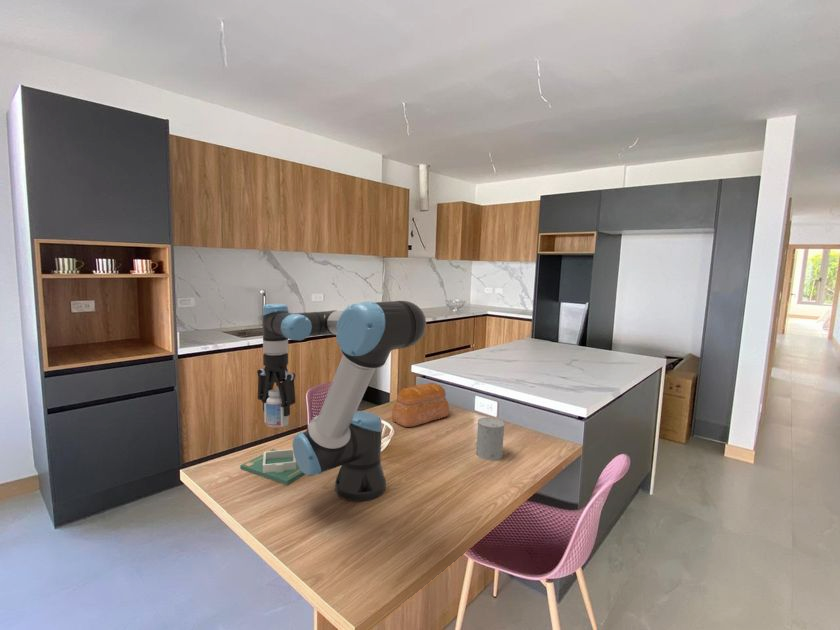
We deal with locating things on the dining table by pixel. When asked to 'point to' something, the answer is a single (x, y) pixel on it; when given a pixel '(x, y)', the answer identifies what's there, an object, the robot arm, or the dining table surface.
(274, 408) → the pill bottle
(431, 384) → the bread
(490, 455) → the grey concrete cylinder
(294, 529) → the dining table surface
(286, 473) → the board
